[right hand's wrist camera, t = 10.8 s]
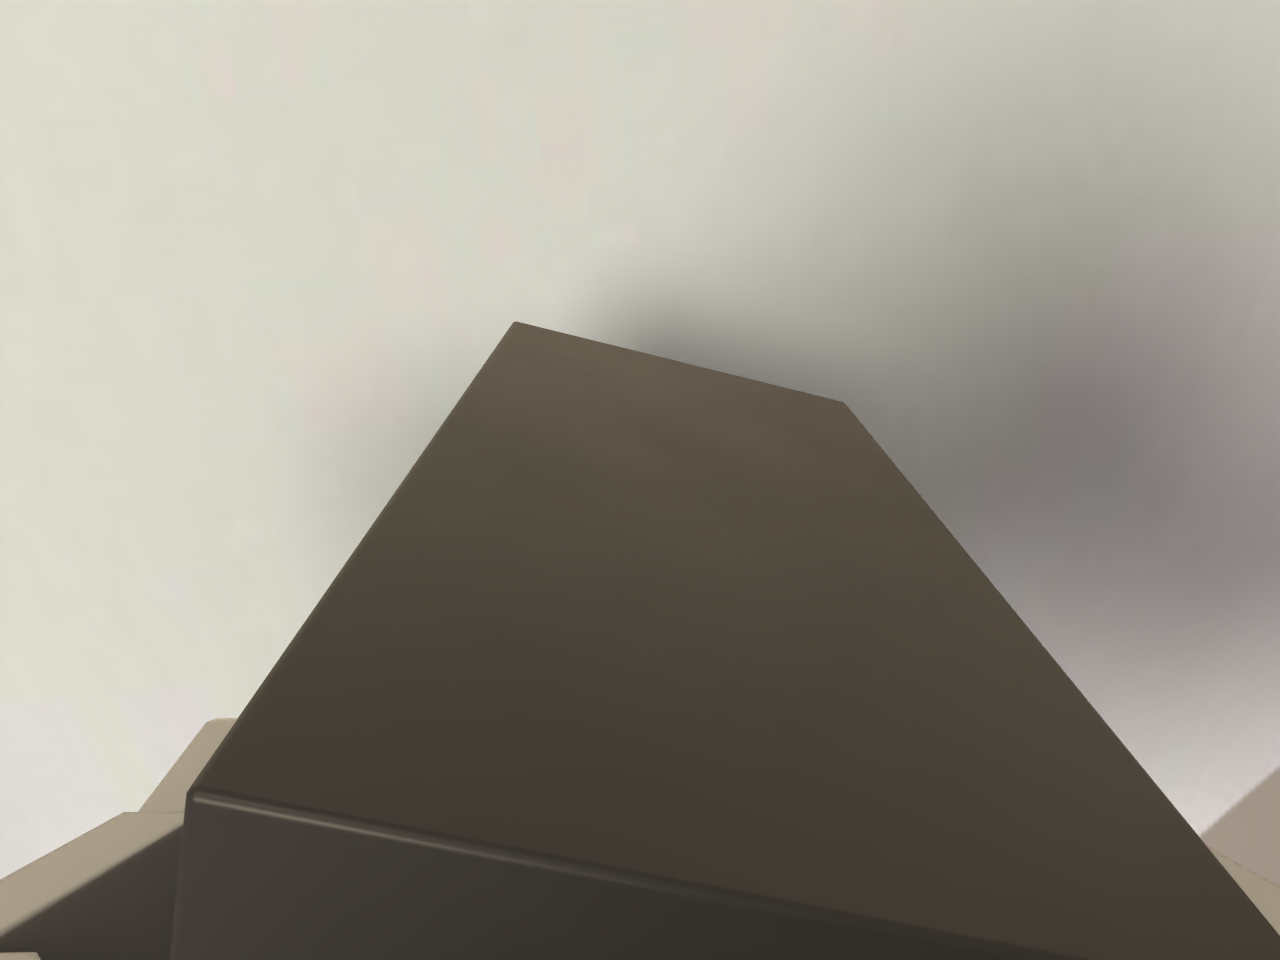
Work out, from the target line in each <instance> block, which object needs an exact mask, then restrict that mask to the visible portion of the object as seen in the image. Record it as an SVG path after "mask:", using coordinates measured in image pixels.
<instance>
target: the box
mask: <svg viewBox="0 0 1280 960" xmlns="http://www.w3.org/2000/svg"><path fill="white" fill-rule="evenodd" d="M170 960H1280V935H1279V934H1278V933H1277V932H1276V930H1275V929H1274V928H1273V927H1272V925H1271V924H1270V923H1269V922H1268V921H1267V919H1266V918H1265V917H1264V916H1263V914H1262V913H1261V912H1260V911H1259V910H1258V908H1257V907H1256V906H1255V905H1254V903H1253V902H1252V901H1251V900H1250V899H1249V897H1248V896H1247V895H1246V894H1245V892H1244V891H1243V890H1242V889H1241V888H1240V886H1239V885H1238V884H1237V883H1236V881H1235V880H1234V879H1233V878H1232V877H1231V875H1230V874H1229V873H1228V872H1227V870H1226V869H1225V868H1224V867H1223V866H1222V864H1221V863H1220V862H1219V861H1218V859H1217V858H1216V857H1215V856H1214V855H1213V853H1212V852H1211V851H1210V850H1209V848H1208V847H1207V846H1206V845H1205V844H1204V842H1203V841H1202V840H1201V839H1200V837H1199V836H1198V835H1197V834H1196V833H1195V831H1194V830H1193V829H1192V828H1191V826H1190V825H1189V824H1188V823H1187V821H1186V820H1185V819H1184V818H1183V817H1182V815H1181V814H1180V813H1179V812H1178V810H1177V809H1176V808H1175V807H1174V806H1173V804H1172V803H1171V802H1170V801H1169V799H1168V798H1167V797H1166V796H1165V795H1164V793H1163V792H1162V791H1161V790H1160V788H1159V787H1158V786H1157V785H1156V784H1155V782H1154V781H1153V780H1152V779H1151V777H1150V776H1149V775H1148V774H1147V773H1146V771H1145V770H1144V769H1143V768H1142V766H1141V765H1140V764H1139V763H1138V762H1137V760H1136V759H1135V758H1134V757H1133V755H1132V754H1131V753H1130V752H1129V751H1128V749H1127V748H1126V747H1125V746H1124V744H1123V743H1122V742H1121V741H1120V740H1119V738H1118V737H1117V736H1116V735H1115V733H1114V732H1113V731H1112V730H1111V729H1110V727H1109V726H1108V725H1107V724H1106V722H1105V721H1104V720H1103V719H1102V717H1101V716H1100V715H1099V714H1098V713H1097V711H1096V710H1095V709H1094V708H1093V706H1092V705H1091V704H1090V703H1089V702H1088V700H1087V699H1086V698H1085V697H1084V695H1083V694H1082V693H1081V692H1080V691H1079V689H1078V688H1077V687H1076V686H1075V684H1074V683H1073V682H1072V681H1071V680H1070V678H1069V677H1068V676H1067V675H1066V673H1065V672H1064V671H1063V670H1062V669H1061V667H1060V666H1059V665H1058V664H1057V662H1056V661H1055V660H1054V659H1053V658H1052V656H1051V655H1050V654H1049V653H1048V651H1047V650H1046V649H1045V648H1044V647H1043V645H1042V644H1041V643H1040V642H1039V640H1038V639H1037V638H1036V637H1035V636H1034V634H1033V633H1032V632H1031V631H1030V629H1029V628H1028V627H1027V626H1026V625H1025V623H1024V622H1023V621H1022V620H1021V618H1020V617H1019V616H1018V615H1017V613H1016V612H1015V611H1014V610H1013V609H1012V607H1011V606H1010V605H1009V604H1008V602H1007V601H1006V600H1005V599H1004V598H1003V596H1002V595H1001V594H1000V593H999V591H998V590H997V589H996V588H995V587H994V585H993V584H992V583H991V582H990V580H989V579H988V578H987V577H986V576H985V574H984V573H983V572H982V571H981V569H980V568H979V567H978V566H977V565H976V563H975V562H974V561H973V560H972V558H971V557H970V556H969V555H968V554H967V552H966V551H965V550H964V549H963V547H962V546H961V545H960V544H959V543H958V541H957V540H956V539H955V538H954V536H953V535H952V534H951V533H950V532H949V530H948V529H947V528H946V527H945V525H944V524H943V523H942V522H941V520H940V519H939V518H938V517H937V516H936V514H935V513H934V512H933V511H932V509H931V508H930V507H929V506H928V505H927V503H926V502H925V501H924V500H923V498H922V497H921V496H920V495H919V494H918V492H917V491H916V490H915V489H914V487H913V486H912V485H911V484H910V483H909V481H908V480H907V479H906V478H905V476H904V475H903V474H902V473H901V472H900V470H899V469H898V468H897V467H896V465H895V464H894V463H893V462H892V461H891V459H890V458H889V457H888V456H887V454H886V453H885V452H884V451H883V450H882V448H881V447H880V446H879V445H878V443H877V442H876V441H875V440H874V439H873V437H872V436H871V435H870V434H869V432H868V431H867V430H866V429H865V428H864V426H863V425H862V424H861V423H860V421H859V420H858V419H857V418H856V416H855V415H854V414H853V413H852V412H851V410H850V409H849V408H848V407H847V405H846V404H845V403H843V402H840V401H835V400H831V399H827V398H823V397H819V396H815V395H811V394H807V393H803V392H799V391H795V390H791V389H787V388H783V387H779V386H775V385H771V384H767V383H763V382H759V381H755V380H751V379H746V378H742V377H738V376H734V375H730V374H726V373H722V372H718V371H714V370H710V369H706V368H702V367H698V366H694V365H690V364H686V363H682V362H678V361H674V360H670V359H666V358H662V357H657V356H653V355H649V354H645V353H641V352H637V351H633V350H629V349H625V348H621V347H617V346H613V345H609V344H605V343H601V342H597V341H593V340H589V339H585V338H581V337H577V336H573V335H568V334H564V333H560V332H556V331H552V330H548V329H544V328H540V327H536V326H532V325H528V324H524V323H520V322H513V324H512V325H511V327H510V328H509V329H508V331H507V332H506V334H505V335H504V337H503V338H502V340H501V341H500V342H499V344H498V345H497V347H496V348H495V350H494V351H493V352H492V354H491V355H490V357H489V358H488V360H487V361H486V363H485V364H484V365H483V367H482V368H481V370H480V371H479V373H478V374H477V375H476V377H475V378H474V380H473V381H472V383H471V384H470V386H469V387H468V388H467V390H466V391H465V393H464V394H463V396H462V397H461V398H460V400H459V401H458V403H457V404H456V406H455V407H454V409H453V410H452V411H451V413H450V414H449V416H448V417H447V419H446V420H445V421H444V423H443V424H442V426H441V427H440V429H439V430H438V432H437V433H436V434H435V436H434V437H433V439H432V440H431V442H430V443H429V444H428V446H427V447H426V449H425V450H424V452H423V453H422V455H421V456H420V457H419V459H418V460H417V462H416V463H415V465H414V466H413V467H412V469H411V470H410V472H409V473H408V475H407V476H406V478H405V479H404V480H403V482H402V483H401V485H400V486H399V488H398V489H397V490H396V492H395V493H394V495H393V496H392V498H391V499H390V501H389V502H388V503H387V505H386V506H385V508H384V509H383V511H382V512H381V513H380V515H379V516H378V518H377V519H376V521H375V522H374V524H373V525H372V526H371V528H370V529H369V531H368V532H367V534H366V535H365V536H364V538H363V539H362V541H361V542H360V544H359V545H358V547H357V548H356V549H355V551H354V552H353V554H352V555H351V557H350V558H349V559H348V561H347V562H346V564H345V565H344V567H343V568H342V570H341V571H340V572H339V574H338V575H337V577H336V578H335V580H334V581H333V582H332V584H331V585H330V587H329V588H328V590H327V591H326V593H325V594H324V595H323V597H322V598H321V600H320V601H319V603H318V604H317V605H316V607H315V608H314V610H313V611H312V613H311V614H310V616H309V617H308V618H307V620H306V621H305V623H304V624H303V626H302V627H301V628H300V630H299V631H298V633H297V634H296V636H295V637H294V639H293V640H292V641H291V643H290V644H289V646H288V647H287V649H286V650H285V651H284V653H283V654H282V656H281V657H280V659H279V660H278V662H277V663H276V664H275V666H274V667H273V669H272V670H271V672H270V673H269V674H268V676H267V677H266V679H265V680H264V682H263V683H262V685H261V686H260V687H259V689H258V690H257V692H256V693H255V695H254V696H253V697H252V699H251V700H250V702H249V703H248V705H247V706H246V708H245V709H244V710H243V712H242V713H241V715H240V716H239V718H238V719H237V720H236V722H235V723H234V725H233V726H232V728H231V729H230V731H229V732H228V733H227V735H226V736H225V738H224V739H223V741H222V742H221V743H220V745H219V746H218V748H217V749H216V751H215V752H214V754H213V755H212V756H211V758H210V759H209V761H208V762H207V764H206V765H205V766H204V768H203V769H202V771H201V772H200V774H199V775H198V777H197V778H196V779H195V781H194V782H193V784H192V785H191V787H190V788H189V789H188V791H187V792H186V801H185V811H184V821H183V832H182V842H181V852H180V862H179V873H178V883H177V893H176V903H175V914H174V924H173V934H172V944H171V955H170Z"/></svg>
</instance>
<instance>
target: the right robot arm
mask: <svg viewBox="0 0 1280 960" xmlns="http://www.w3.org/2000/svg"><path fill="white" fill-rule="evenodd" d="M237 719H238V718H224V719H214V720H212V721H209V722H207V723H206V724H205V725H204V726H203V727H202V728H201V730H200V731H199V732H198V734H197V735H196V736H195V738H194V739H193V740H192V742H191V743H190V744H189V746H188V747H187V748H186V749H185V751H184V752H183V753H182V755H181V756H180V757H179V759H178V760H177V761H176V763H175V764H174V765H173V767H172V768H171V769H170V770H169V772H168V773H167V774H166V776H165V777H164V778H163V780H162V781H161V782H160V784H159V785H158V786H157V788H156V789H155V790H154V792H153V793H152V794H151V795H150V797H149V798H148V799H147V801H146V802H145V803H144V805H143V806H142V807H141V809H140V810H139V811H138V812H123V813H122V814H120V815H118V816H116V817H114V818H112V819H111V820H109V821H107V822H105V823H103V824H101V825H100V826H98V827H96V828H94V829H92V830H90V831H89V832H87V833H85V834H83V835H81V836H79V837H78V838H76V839H74V840H72V841H70V842H68V843H67V844H65V845H63V846H61V847H59V848H58V849H56V850H54V851H52V852H50V853H48V854H47V855H45V856H43V857H41V858H39V859H37V860H36V861H34V862H32V863H30V864H28V865H26V866H25V867H23V868H21V869H19V870H17V871H15V872H14V873H12V874H10V875H8V876H6V877H4V878H3V879H1V880H0V960H170V955H171V944H172V934H173V924H174V914H175V903H176V893H177V883H178V873H179V862H180V852H181V842H182V832H183V821H184V811H185V801H186V792H187V791H188V789H189V788H190V787H191V785H192V784H193V782H194V781H195V779H196V778H197V777H198V775H199V774H200V772H201V771H202V769H203V768H204V766H205V765H206V764H207V762H208V761H209V759H210V758H211V756H212V755H213V754H214V752H215V751H216V749H217V748H218V746H219V745H220V743H221V742H222V741H223V739H224V738H225V736H226V735H227V733H228V732H229V731H230V729H231V728H232V726H233V725H234V723H235V722H236V720H237ZM1207 847H1208V846H1207ZM1208 848H1209V850H1210V851H1211V852H1212V853H1213V855H1214V856H1215V857H1216V858H1217V859H1218V861H1219V862H1220V863H1221V864H1222V866H1223V867H1224V868H1225V869H1226V870H1227V872H1228V873H1229V874H1230V875H1231V877H1232V878H1233V879H1234V880H1235V881H1236V883H1237V884H1238V885H1239V886H1240V888H1241V889H1242V890H1243V891H1244V892H1245V894H1246V895H1247V896H1248V897H1249V899H1250V900H1251V901H1252V902H1253V903H1254V905H1255V906H1256V907H1257V908H1258V910H1259V911H1260V912H1261V913H1262V914H1263V916H1264V917H1265V918H1266V919H1267V921H1268V922H1269V923H1270V924H1271V925H1272V927H1273V928H1274V929H1275V930H1276V932H1277V933H1278V934H1279V935H1280V886H1279V885H1277V884H1275V883H1273V882H1271V881H1270V880H1268V879H1266V878H1264V877H1262V876H1261V875H1259V874H1257V873H1255V872H1253V871H1252V870H1250V869H1248V868H1246V867H1244V866H1243V865H1241V864H1239V863H1237V862H1235V861H1233V860H1232V859H1230V858H1228V857H1226V856H1224V855H1223V854H1221V853H1219V852H1217V851H1215V850H1214V849H1212V848H1210V847H1208Z"/></svg>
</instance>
